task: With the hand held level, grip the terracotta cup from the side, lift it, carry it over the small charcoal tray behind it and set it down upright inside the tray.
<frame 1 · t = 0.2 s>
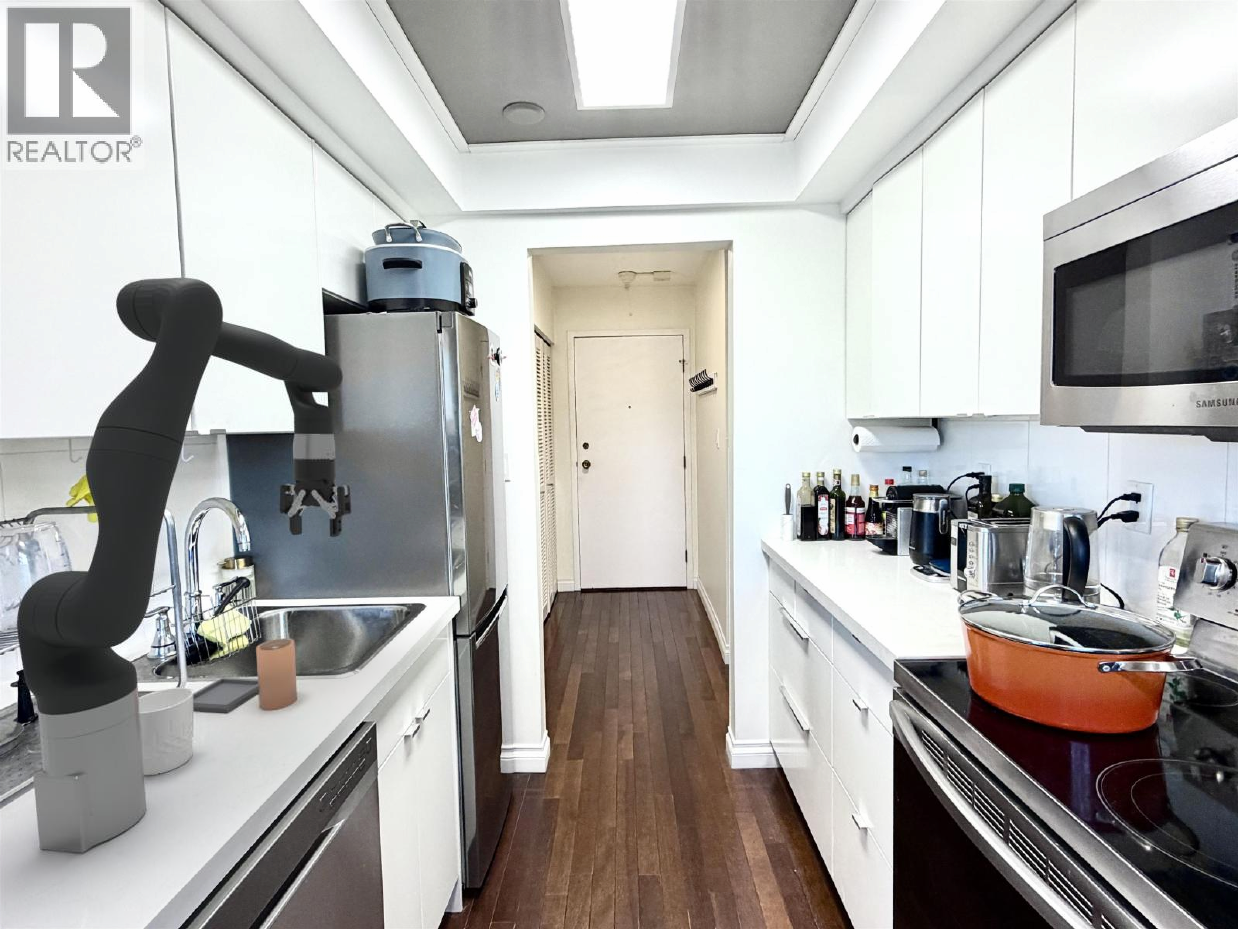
hand: (315, 535, 114), 29 cm above the worktop, tool pointing down, fingers open, 8 cm apart
tray: (224, 698, 105), on the worktop
white cup: (165, 763, 86), on the worktop
cup: (278, 702, 104), on the worktop
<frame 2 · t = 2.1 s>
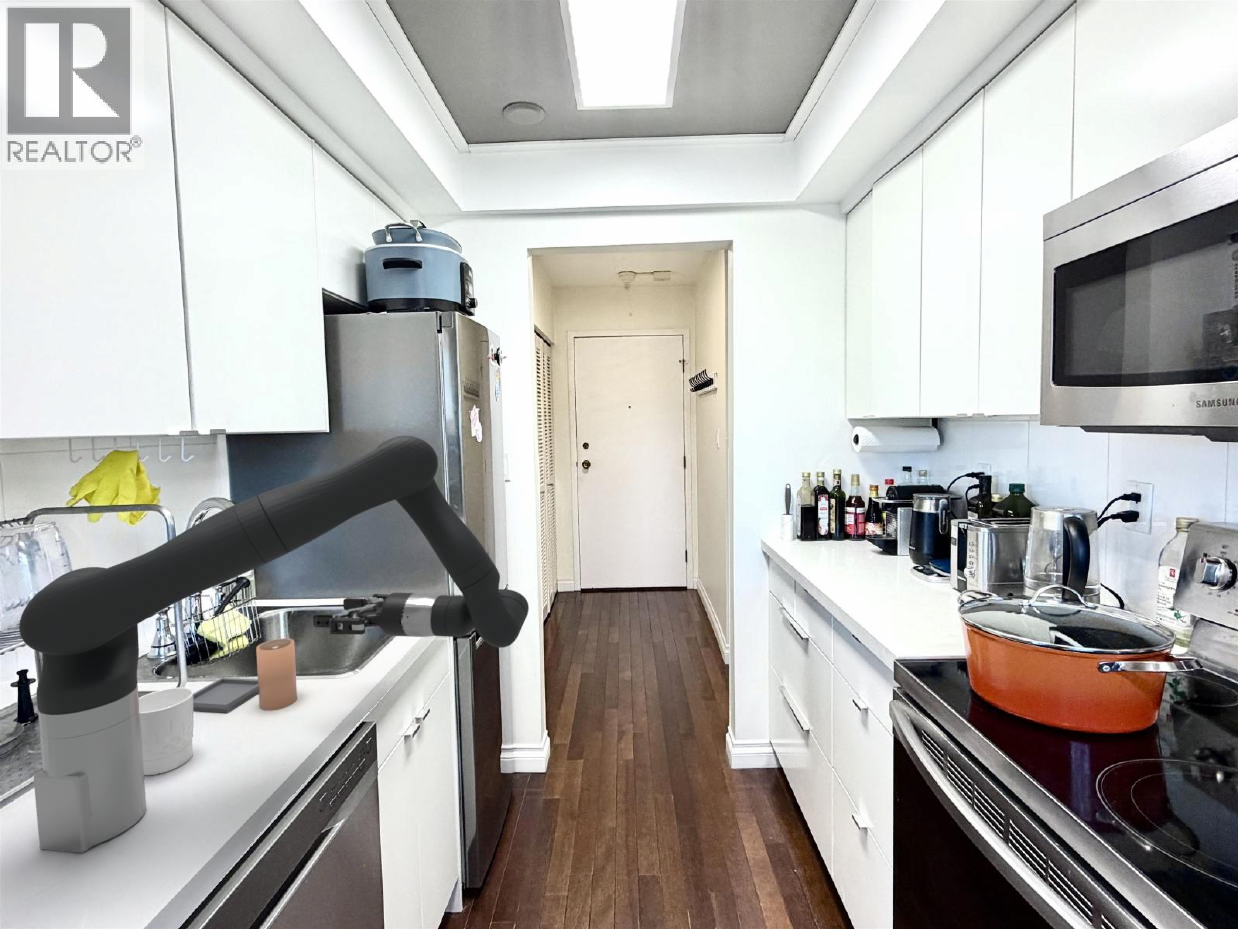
hand: (330, 611, 101), 18 cm above the worktop, tool horizontal, fingers open, 8 cm apart
nothing on the worktop moved.
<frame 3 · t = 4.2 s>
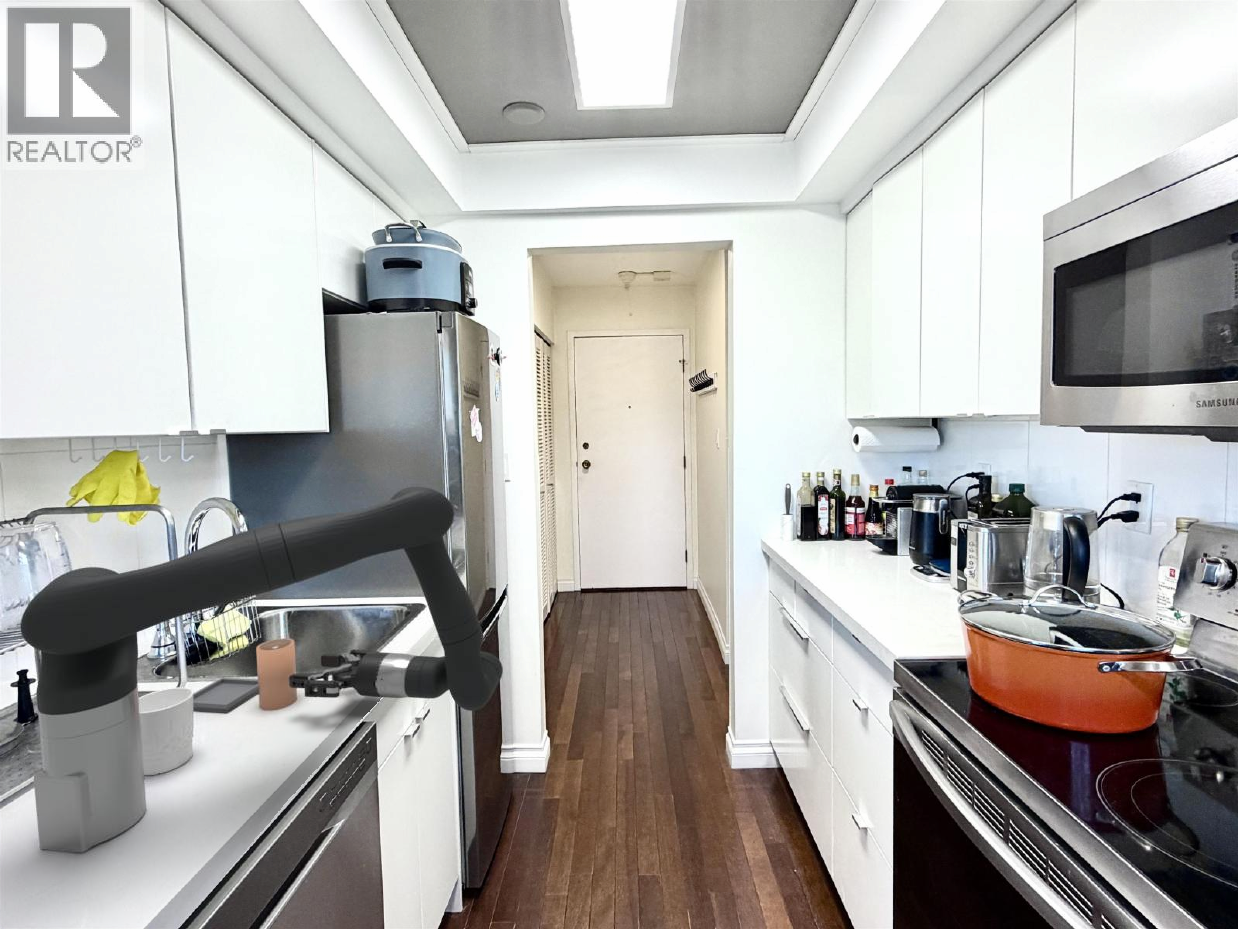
hand: (306, 670, 103), 6 cm above the worktop, tool horizontal, fingers open, 8 cm apart
nothing on the worktop moved.
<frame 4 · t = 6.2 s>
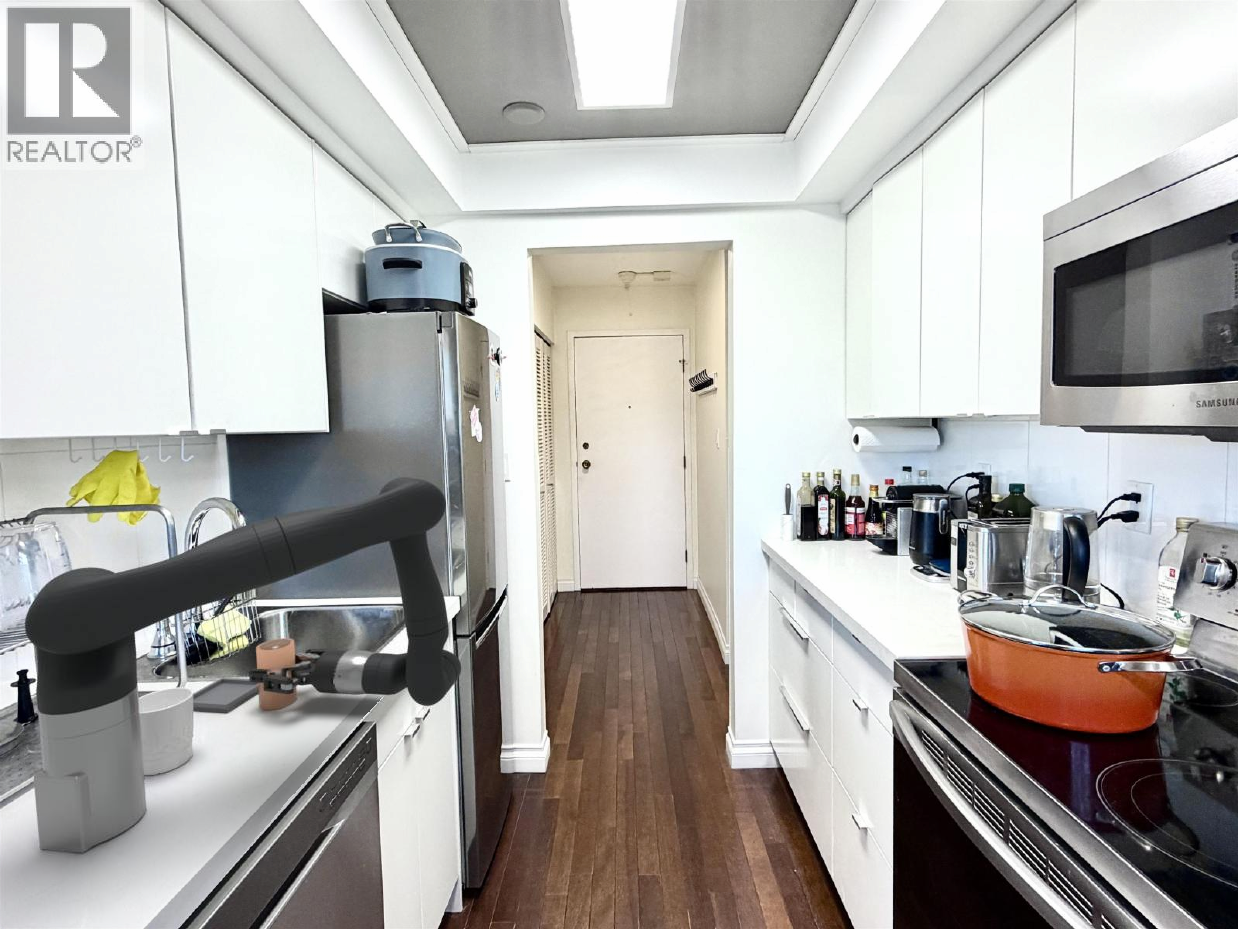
hand: (264, 667, 104), 7 cm above the worktop, tool horizontal, fingers closed on cup, 6 cm apart
cup: (278, 702, 104), on the worktop, touching gripper
everything else where it was.
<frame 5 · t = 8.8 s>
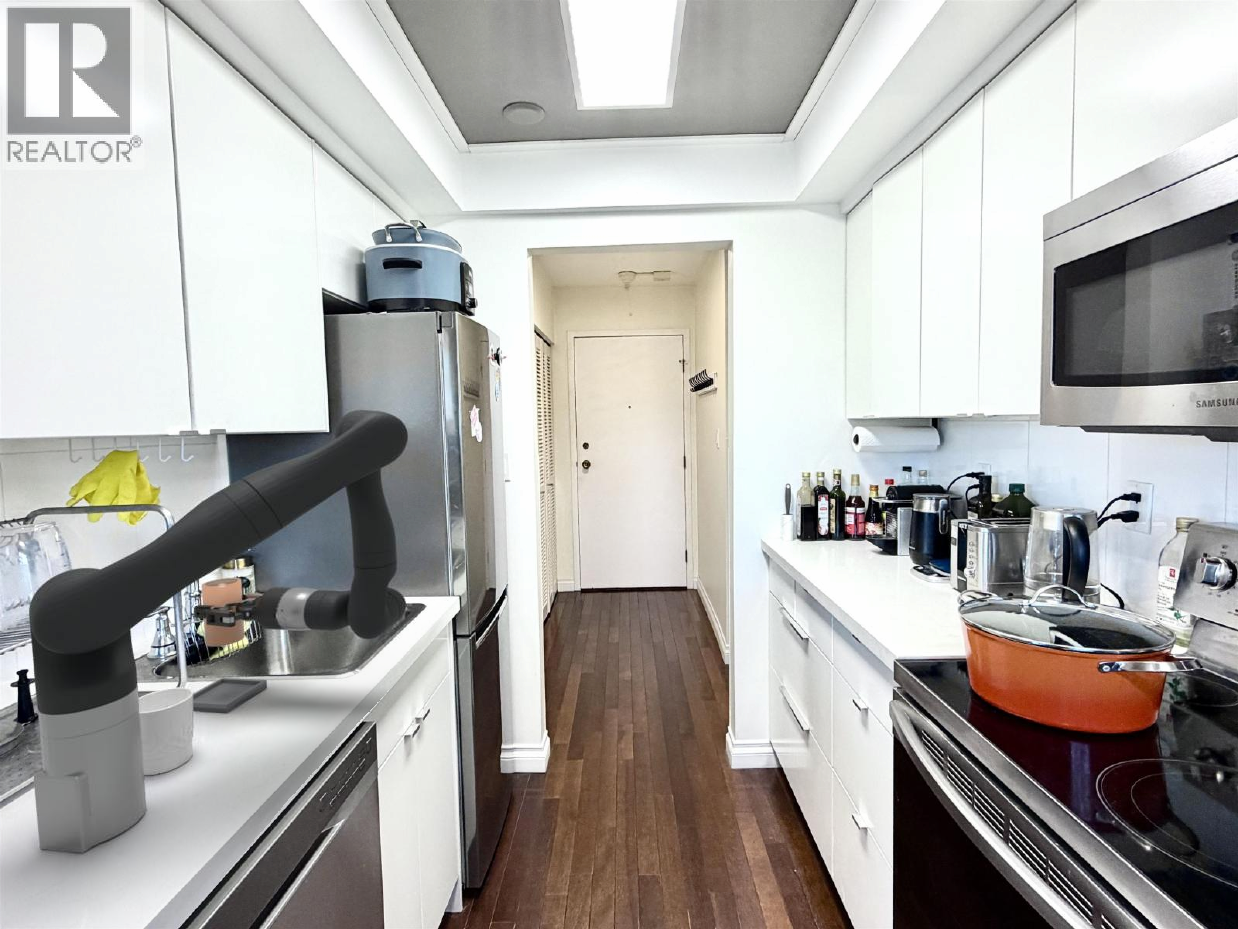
hand: (211, 605, 104), 18 cm above the worktop, tool horizontal, fingers closed on cup, 6 cm apart
cup: (225, 640, 104), point 11 cm above the worktop, touching gripper
everything else where it was.
when the fingers open (9 cm above the worktop, at t = 11.7 s): cup drops 1 cm, resting on tray.
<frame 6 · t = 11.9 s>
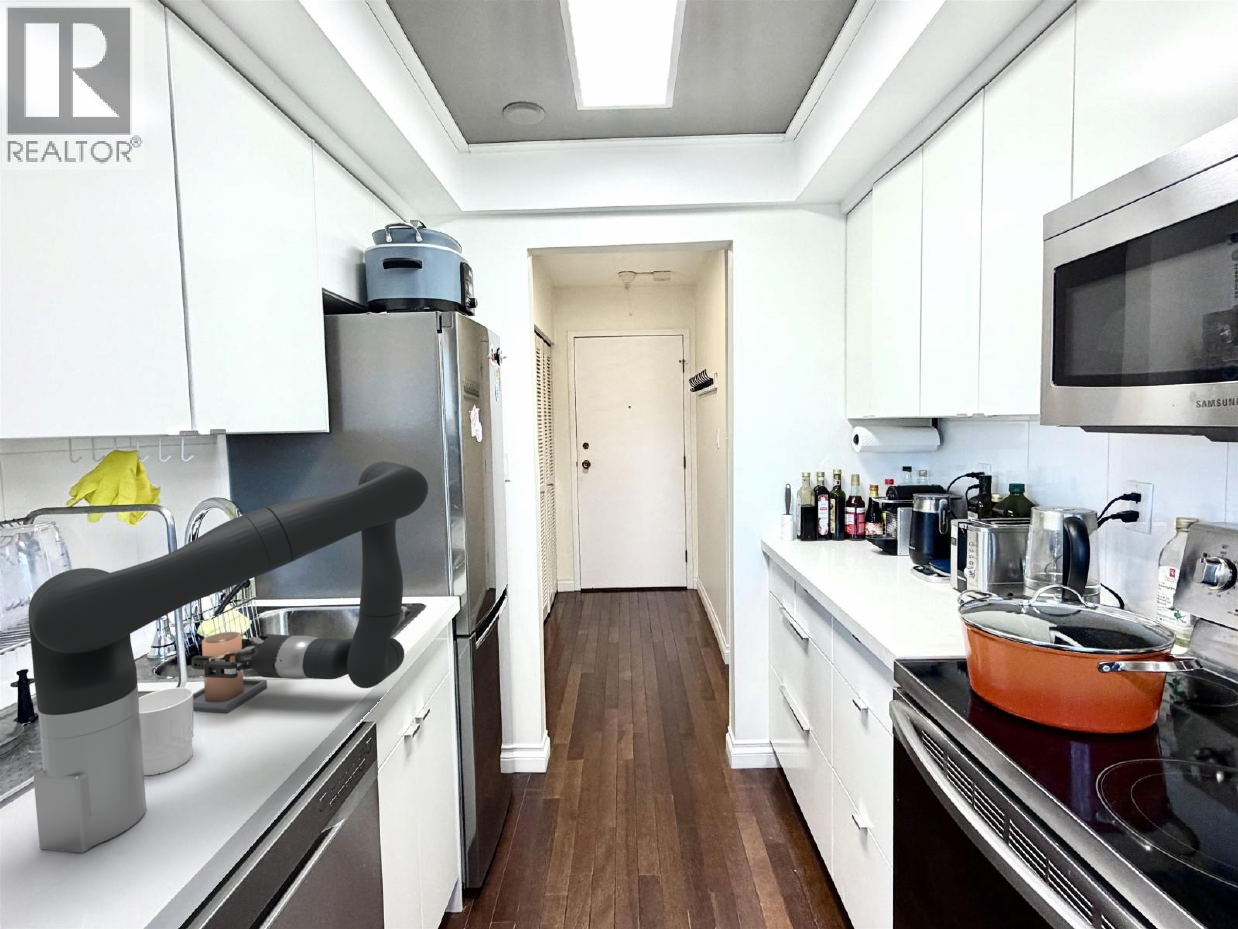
hand: (212, 652, 105), 9 cm above the worktop, tool horizontal, fingers open, 8 cm apart
cup: (224, 694, 105), point 1 cm above the worktop, touching tray
everything else where it was.
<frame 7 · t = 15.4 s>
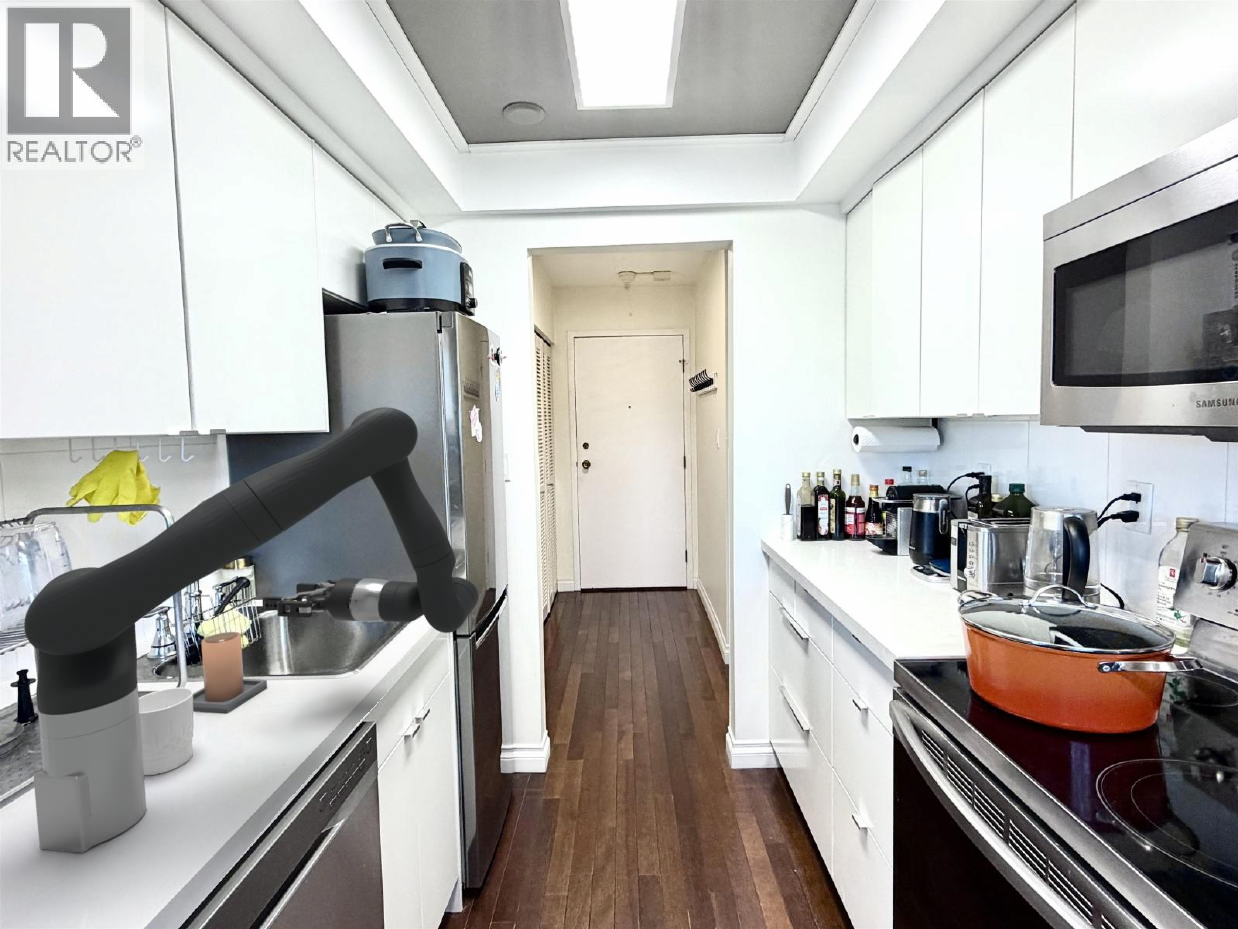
hand: (281, 595, 102), 20 cm above the worktop, tool horizontal, fingers open, 8 cm apart
nothing on the worktop moved.
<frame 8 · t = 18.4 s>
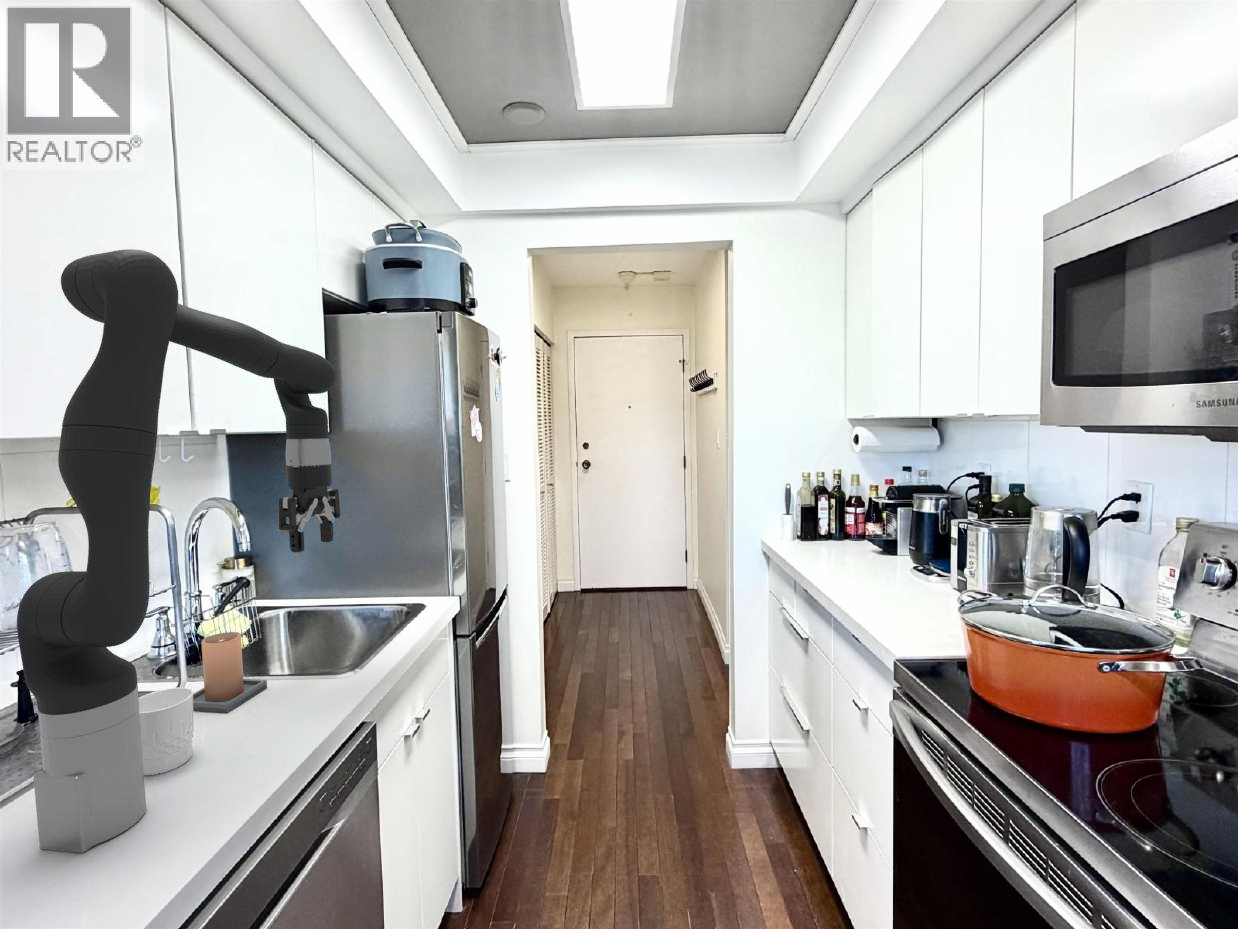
hand: (312, 546, 107), 28 cm above the worktop, tool pointing down, fingers open, 8 cm apart
nothing on the worktop moved.
at the end: cup 0.1 cm off-centre on the tray, point 0.8 cm above the tray's base; cup tilted 0°; the gripper is holding nothing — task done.
